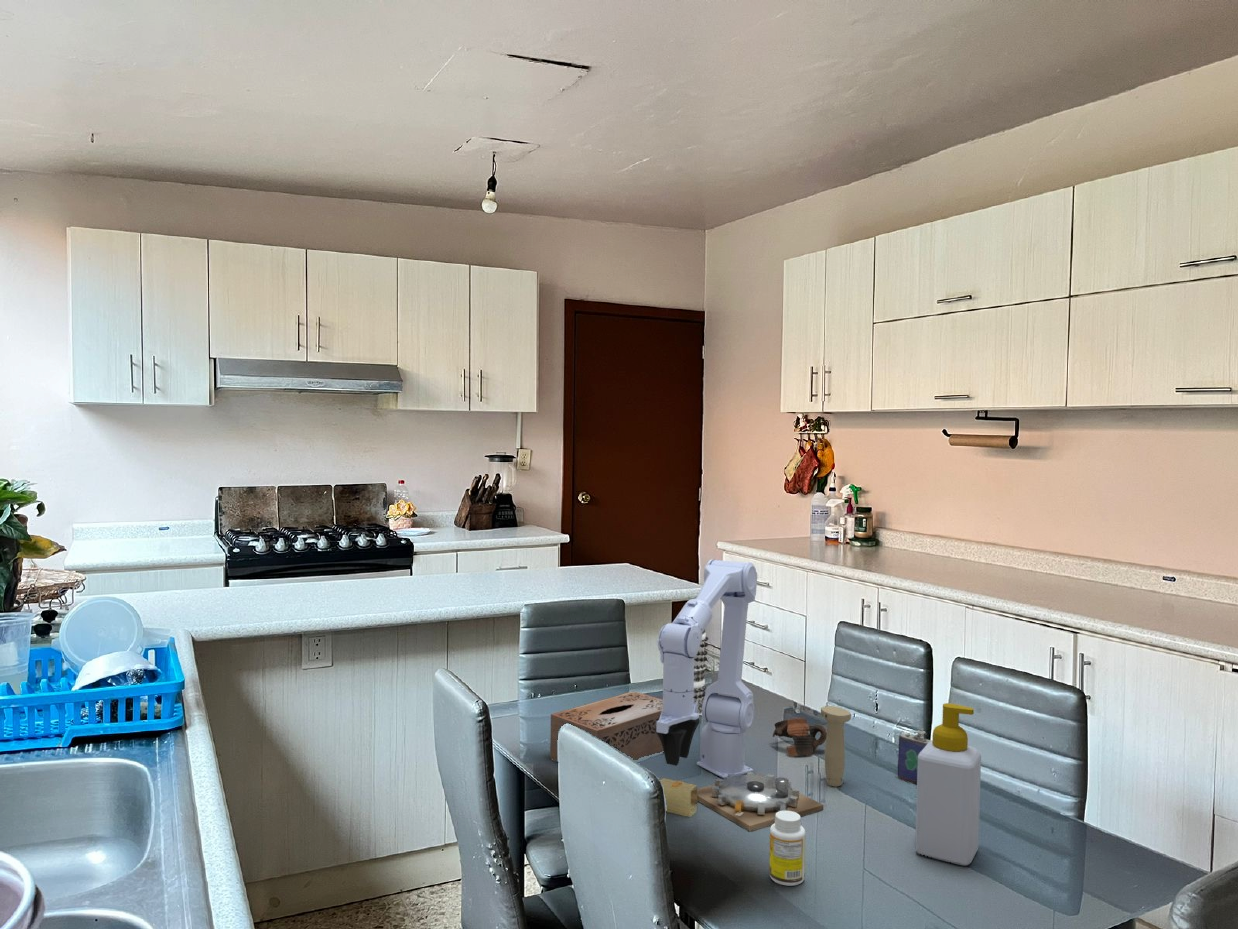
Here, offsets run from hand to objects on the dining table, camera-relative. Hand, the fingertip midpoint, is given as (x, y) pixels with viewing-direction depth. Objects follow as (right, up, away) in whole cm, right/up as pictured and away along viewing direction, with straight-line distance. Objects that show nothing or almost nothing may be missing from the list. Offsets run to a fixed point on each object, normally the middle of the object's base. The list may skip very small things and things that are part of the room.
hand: (677, 760), depth 168 cm
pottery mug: (+30, -9, +33) cm, 45 cm away
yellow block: (0, -10, 0) cm, 10 cm away
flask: (+51, -10, +16) cm, 54 cm away
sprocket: (+15, -8, +4) cm, 18 cm away
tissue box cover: (-11, -9, +30) cm, 33 cm away
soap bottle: (+45, -11, -15) cm, 49 cm away
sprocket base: (+15, -10, +4) cm, 18 cm away
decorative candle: (+7, -8, +59) cm, 60 cm away
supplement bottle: (+16, -11, -25) cm, 32 cm away
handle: (+33, -10, +14) cm, 37 cm away
